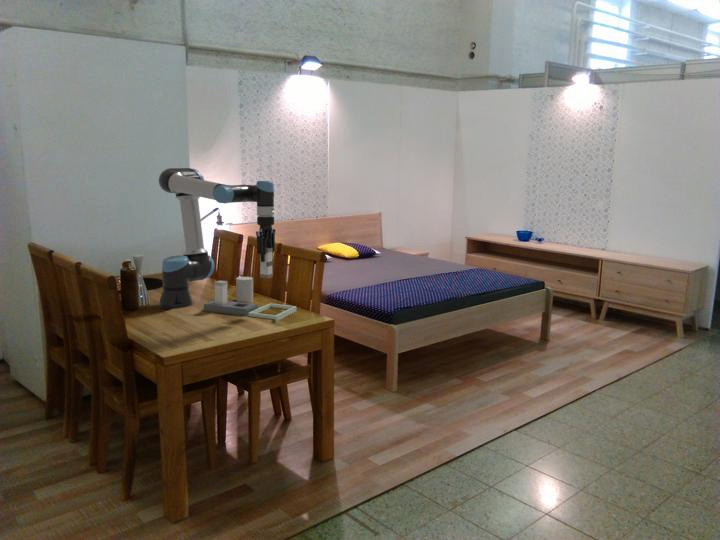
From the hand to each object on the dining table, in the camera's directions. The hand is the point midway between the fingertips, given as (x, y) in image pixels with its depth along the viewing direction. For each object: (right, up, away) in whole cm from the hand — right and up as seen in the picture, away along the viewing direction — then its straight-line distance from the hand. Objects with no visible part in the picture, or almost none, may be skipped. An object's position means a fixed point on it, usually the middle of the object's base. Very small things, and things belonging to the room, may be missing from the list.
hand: (266, 268), depth 272 cm
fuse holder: (-17, -20, +6) cm, 27 cm away
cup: (-15, -17, +27) cm, 35 cm away
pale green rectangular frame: (+2, -21, +4) cm, 22 cm away
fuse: (-22, -19, +7) cm, 30 cm away
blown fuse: (0, -4, +1) cm, 4 cm away
